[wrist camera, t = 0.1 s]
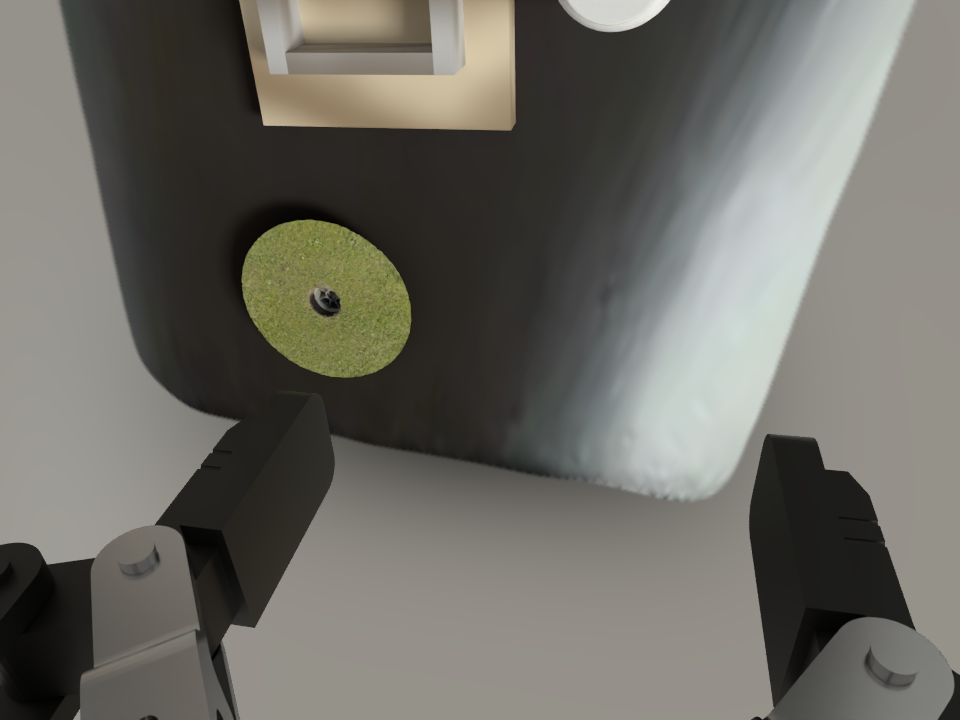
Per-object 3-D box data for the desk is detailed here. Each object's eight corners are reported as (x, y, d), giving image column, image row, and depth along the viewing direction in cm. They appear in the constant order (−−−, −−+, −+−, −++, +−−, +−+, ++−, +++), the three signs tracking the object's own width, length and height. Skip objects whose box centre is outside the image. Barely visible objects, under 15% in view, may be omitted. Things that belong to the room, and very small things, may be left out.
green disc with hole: (393, 197, 43) (382, 209, 42) (437, 357, 49) (429, 373, 47) (229, 219, 46) (213, 231, 45) (288, 367, 52) (276, 382, 50)
